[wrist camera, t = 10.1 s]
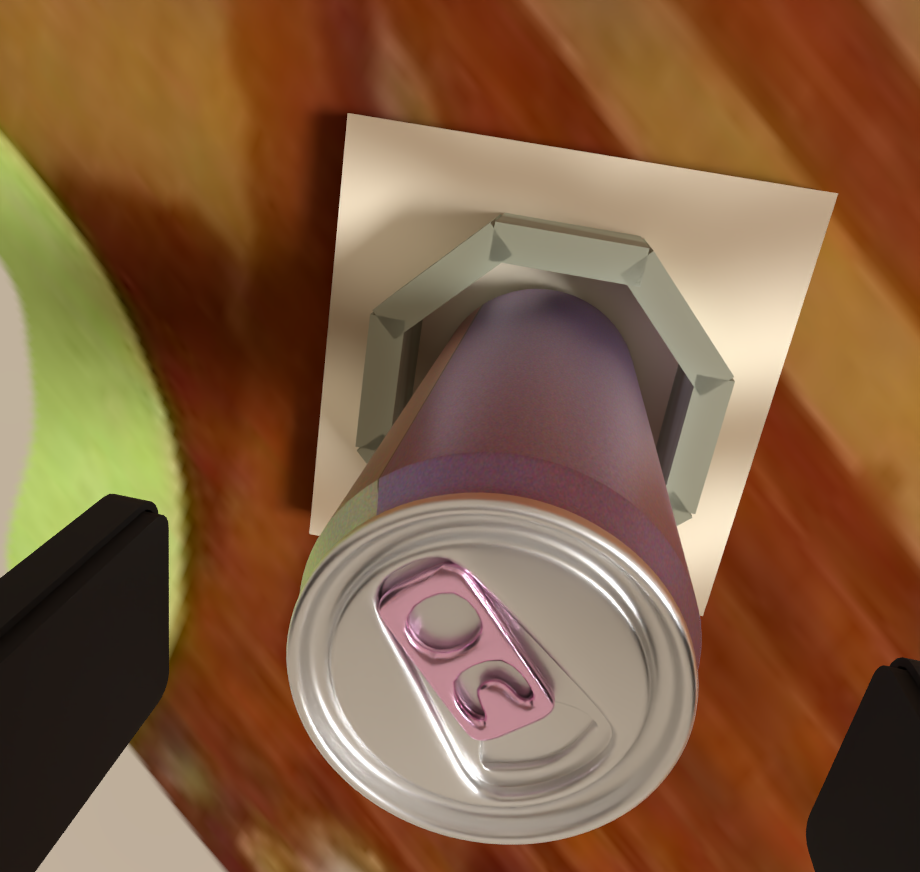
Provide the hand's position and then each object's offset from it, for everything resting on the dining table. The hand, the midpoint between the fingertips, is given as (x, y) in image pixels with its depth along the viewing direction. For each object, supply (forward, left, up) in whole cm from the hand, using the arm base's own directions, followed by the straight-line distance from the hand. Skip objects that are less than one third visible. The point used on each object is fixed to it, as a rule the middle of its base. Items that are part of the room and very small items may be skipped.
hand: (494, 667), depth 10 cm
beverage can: (0, 0, -15) cm, 15 cm away
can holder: (+1, 0, -17) cm, 17 cm away
